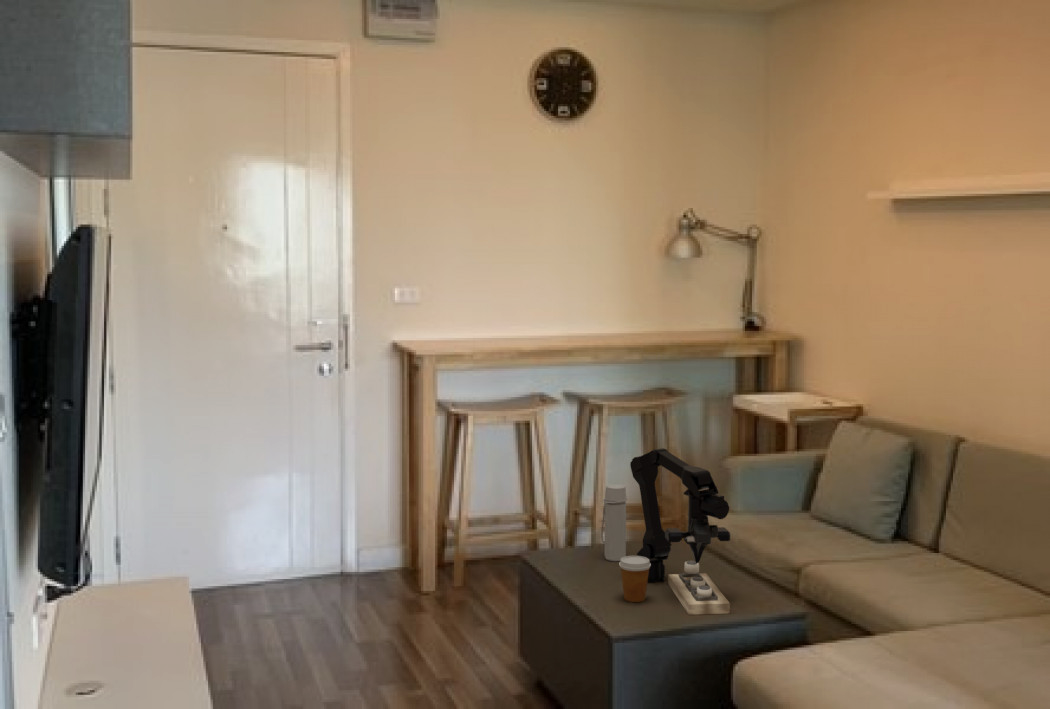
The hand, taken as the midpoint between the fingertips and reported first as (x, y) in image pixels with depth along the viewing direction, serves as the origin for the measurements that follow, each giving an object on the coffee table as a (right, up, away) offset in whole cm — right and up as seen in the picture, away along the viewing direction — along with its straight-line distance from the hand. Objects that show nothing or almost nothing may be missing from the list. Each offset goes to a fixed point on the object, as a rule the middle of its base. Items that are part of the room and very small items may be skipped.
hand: (697, 562), depth 322 cm
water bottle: (-22, -7, +40) cm, 46 cm away
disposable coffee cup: (-19, -11, 0) cm, 22 cm away
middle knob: (0, -8, 0) cm, 8 cm away
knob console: (0, -11, 0) cm, 11 cm away
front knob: (+1, -9, -8) cm, 12 cm away
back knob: (0, -4, +7) cm, 9 cm away
